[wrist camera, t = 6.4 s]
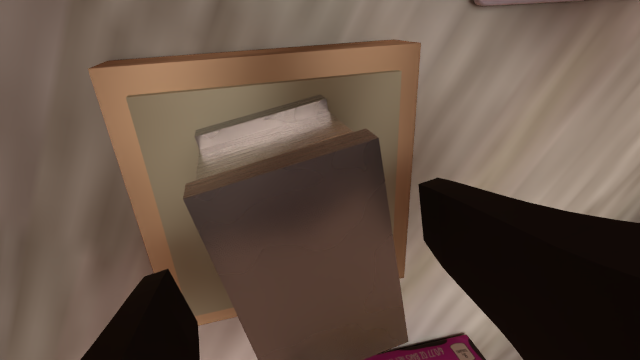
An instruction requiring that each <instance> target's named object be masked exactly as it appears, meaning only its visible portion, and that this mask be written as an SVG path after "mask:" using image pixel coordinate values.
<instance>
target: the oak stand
mask: <svg viewBox="0 0 640 360" xmlns="http://www.w3.org/2000/svg"><path fill="white" fill-rule="evenodd" d="M420 47H421V43H417V42H409V41H401V40H382V41H369V42H355V43H342V44H328V45H315V46H301V47H288V48H274V49H261V50H247V51H234V52H220V53H207V54H193V55H180V56H166V57H153V58H139V59H125V60H112V61H106V62H104V63H101V64H99V65H96V66H94V67H91V68H89V69H88V70H89V74H90V77H91V80H92V83H93V86H94V89H95V92H96V95H97V98H98V102H99V105H100V108H101V111H102V114H103V117H104V120H105V123H106V126H107V129H108V133H109V136H110V139H111V142H112V145H113V148H114V151H115V154H116V157H117V160H118V164H119V167H120V170H121V173H122V176H123V179H124V182H125V185H126V188H127V191H128V195H129V198H130V201H131V204H132V207H133V210H134V213H135V216H136V219H137V222H138V226H139V229H140V232H141V235H142V238H143V241H144V244H145V247H146V250H147V253H148V257H149V260H150V263H151V266H152V269H153V272H154V273H157V272H160V271H163V270H165V269H169V271H170V273H171V275H172V276H173V278H174V280H175V282H176V284H177V285H178V287H179V289H180V291H181V293H182V294H183V296H184V298H185V300H186V302H187V303H188V305H189V307H190V309H191V311H192V312H193V314H194V316H195V318H196V320H197V322H198V325H203V324H207V323H211V322H216V321H220V320H224V319H228V318H233V317H237V314H236V311H235V309H234V307H233V305H232V303H231V301H230V299H229V296H228V294H227V292H226V290H225V288H224V286H223V284H222V282H221V279H220V277H219V275H218V273H217V271H216V269H215V267H214V264H213V262H212V260H211V258H210V256H209V254H208V252H207V250H206V247H205V245H204V243H203V241H202V239H201V237H200V235H199V232H198V230H197V228H196V226H195V224H194V222H193V220H192V217H191V215H190V213H189V211H188V209H187V207H186V205H185V203H184V200H183V196H184V190H185V185H186V183H189V182H193V181H196V174H197V166H198V158H199V150H200V149H199V147H198V144H197V142H196V140H195V131H196V130H198V129H201V128H205V127H208V126H211V125H215V124H218V123H222V122H225V121H229V120H232V119H236V118H239V117H243V116H246V115H250V114H253V113H257V112H260V111H264V110H267V109H271V108H274V107H278V106H281V105H285V104H288V103H292V102H295V101H299V100H302V99H306V98H309V97H313V96H316V95H322V96H323V97H324V98H326V100H327V105H328V110H329V112H330V113H331V114H333V115H334V116H335V117H336V118H337V119H338V120H340V121H341V122H342V123H343V124H344V125H346V126H347V127H348V128H349V129H350V130H352V131H353V132H356V131H359V130H362V129H365V128H366V129H368V130H369V131H370V132H372V133H373V134H374V135H376V136H377V137H378V138H379V143H380V150H381V157H382V163H383V170H384V177H385V184H386V191H387V198H388V205H389V212H390V219H391V226H392V233H393V239H394V246H395V253H396V260H397V267H398V274H399V279H400V278H404V269H405V256H406V242H407V228H408V214H409V200H410V186H411V172H412V158H413V144H414V130H415V117H416V103H417V89H418V75H419V61H420Z"/></svg>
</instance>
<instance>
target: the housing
mask: <svg viewBox="0 0 640 360" xmlns="http://www.w3.org/2000/svg"><path fill="white" fill-rule="evenodd" d="M195 140H196V142H197V144H198V147H199V149H200V150H199V158H198V166H197V174H196V181H193V182H189V183H186V185H185V190H184V196H183V200H184V203H185V205H186V207H187V209H188V211H189V213H190V215H191V217H192V220H193V222H194V224H195V226H196V228H197V230H198V232H199V235H200V237H201V239H202V241H203V243H204V245H205V247H206V250H207V252H208V254H209V256H210V258H211V260H212V262H213V264H214V267H215V269H216V271H217V273H218V275H219V277H220V279H221V282H222V284H223V286H224V288H225V290H226V292H227V294H228V296H229V299H230V301H231V303H232V305H233V307H234V309H235V311H236V314H237V316H238V318H239V320H240V322H241V324H242V326H243V328H244V331H245V333H246V335H247V337H248V339H249V341H250V343H251V346H252V348H253V350H254V352H255V354H256V356H257V358H258V360H364V359H366V358H369V357H371V356H374V355H376V354H379V353H381V352H384V351H386V350H389V349H391V348H394V347H396V346H399V345H401V344H404V343H406V342H408V336H407V329H406V322H405V315H404V309H403V302H402V295H401V288H400V281H399V274H398V267H397V260H396V253H395V246H394V239H393V233H392V226H391V219H390V212H389V205H388V198H387V191H386V184H385V177H384V170H383V163H382V157H381V150H380V143H379V138H378V137H377V136H376V135H374V134H373V133H372V132H370V131H369V130H368V129H366V128H365V129H362V130H359V131H356V132H353V131H352V130H350V129H349V128H348V127H347V126H346V125H344V124H343V123H342V122H341V121H340V120H338V119H337V118H336V117H335V116H334V115H333V114H331V113H330V112H329V110H328V105H327V100H326V98H324V97H323V96H322V95H316V96H313V97H309V98H306V99H302V100H299V101H295V102H292V103H288V104H285V105H281V106H278V107H274V108H271V109H267V110H264V111H260V112H257V113H253V114H250V115H246V116H243V117H239V118H236V119H232V120H229V121H225V122H222V123H218V124H215V125H211V126H208V127H205V128H201V129H198V130H196V131H195Z"/></svg>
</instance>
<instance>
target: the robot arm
mask: <svg viewBox="0 0 640 360" xmlns="http://www.w3.org/2000/svg"><path fill="white" fill-rule="evenodd" d="M564 1H582V0H474V2H475V3H476V4H477V5H480V6H491V5H509V4H527V3H545V2H564ZM419 195H420V205H421V216H422V227H423V237H424V241H425V243H426V244H427V246H428V247H429V249H430V250H431V251H432V253H433V254H434V256H435V257H436V259H437V260H438V261H439V263H440V264H441V266H442V267H443V268H444V269H445V270H446V272H447V273H448V274H449V275H450V276H451V277H452V278H453V279H454V280H455V282H456V283H457V284H458V285H459V286H460V287H461V288H462V289H463V290H464V291H465V292H466V294H467V295H468V296H469V297H470V298H471V299H472V300H473V301H474V302H475V303H476V304H477V306H478V307H479V308H480V309H481V310H482V311H483V312H484V313H485V314H486V315H487V316H488V317H489V319H490V320H491V321H492V322H493V323H494V324H495V325H496V326H497V327H498V328H499V330H500V331H501V332H502V333H503V334H504V335H505V337H506V338H507V339H508V340H509V341H510V342H511V344H512V345H513V346H514V348H515V349H516V350H517V352H518V353H519V354H520V356H521V357H522V358H523V360H640V223H634V222H627V221H620V220H613V219H607V218H602V217H596V216H590V215H584V214H578V213H573V212H568V211H563V210H559V209H554V208H550V207H546V206H542V205H537V204H533V203H529V202H525V201H521V200H517V199H514V198H510V197H506V196H503V195H499V194H496V193H492V192H489V191H485V190H482V189H478V188H475V187H471V186H468V185H465V184H461V183H457V182H454V181H450V180H446V179H441V178H436V179H433V180H430V181H427V182H424V183H421V184H419ZM81 360H200V356H199V335H198V322H197V320H196V318H195V316H194V314H193V312H192V311H191V309H190V307H189V305H188V303H187V302H186V300H185V298H184V296H183V294H182V293H181V291H180V289H179V287H178V285H177V284H176V282H175V280H174V278H173V276H172V275H171V273H170V271H169V269H165V270H163V271H160V272H157V273H154V274H151V275H148V276H145V277H144V278H143V279H142V280H141V281H140V283H139V284H138V285H137V286H136V288H135V289H134V290H133V292H132V293H131V294H130V296H129V297H128V298H127V300H126V301H125V302H124V304H123V305H122V306H121V308H120V309H119V310H118V312H117V313H116V314H115V316H114V317H113V318H112V320H111V321H110V322H109V324H108V325H107V326H106V328H105V329H104V330H103V332H102V333H101V334H100V336H99V337H98V338H97V339H96V341H95V342H94V343H93V345H92V346H91V347H90V349H89V350H88V351H87V352H86V353H85V355H84V356H83V357H82V358H81Z"/></svg>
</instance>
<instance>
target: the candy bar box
mask: <svg viewBox="0 0 640 360" xmlns="http://www.w3.org/2000/svg"><path fill="white" fill-rule="evenodd" d="M364 360H486V359H485V358H484V356H483V355H482V354H481V353H480V351H479V350H478V349H477V347H476V346H475V345H474V344H473V342H472V341H471V340H470V339H469V337H468V336H467V335H461V336H457V337H452V338H448V339H444V340H440V341H435V342H431V343H426V344H422V345H417V346H413V347H408V348H404V349H400V350H395V351H391V352H386V353H382V354H378V355H374V356H371V357H369V358H366V359H364Z"/></svg>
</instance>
